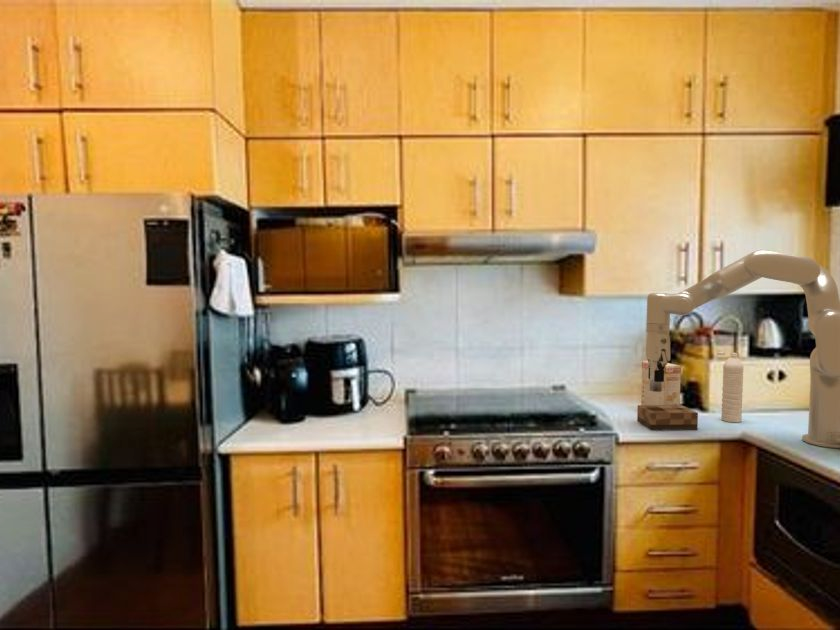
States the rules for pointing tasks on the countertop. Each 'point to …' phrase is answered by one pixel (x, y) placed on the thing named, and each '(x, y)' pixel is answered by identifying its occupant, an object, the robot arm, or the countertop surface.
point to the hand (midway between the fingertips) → (656, 379)
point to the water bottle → (732, 389)
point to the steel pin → (653, 385)
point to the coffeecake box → (669, 386)
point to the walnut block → (667, 417)
